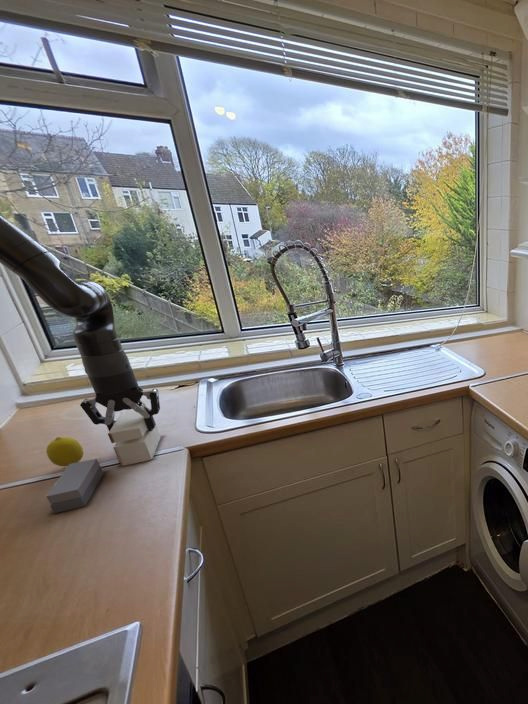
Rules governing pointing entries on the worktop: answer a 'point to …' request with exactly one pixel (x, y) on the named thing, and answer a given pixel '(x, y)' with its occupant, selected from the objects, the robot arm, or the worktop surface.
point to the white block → (138, 448)
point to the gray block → (75, 485)
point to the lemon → (64, 451)
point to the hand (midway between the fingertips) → (135, 432)
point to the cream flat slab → (128, 427)
